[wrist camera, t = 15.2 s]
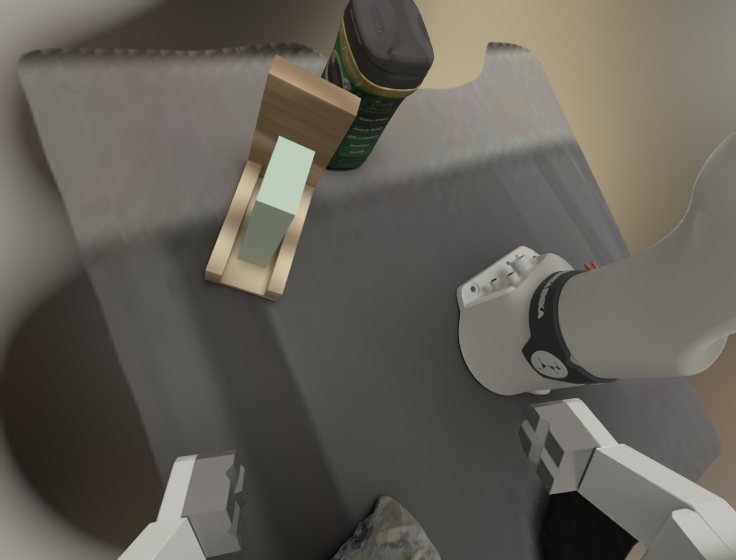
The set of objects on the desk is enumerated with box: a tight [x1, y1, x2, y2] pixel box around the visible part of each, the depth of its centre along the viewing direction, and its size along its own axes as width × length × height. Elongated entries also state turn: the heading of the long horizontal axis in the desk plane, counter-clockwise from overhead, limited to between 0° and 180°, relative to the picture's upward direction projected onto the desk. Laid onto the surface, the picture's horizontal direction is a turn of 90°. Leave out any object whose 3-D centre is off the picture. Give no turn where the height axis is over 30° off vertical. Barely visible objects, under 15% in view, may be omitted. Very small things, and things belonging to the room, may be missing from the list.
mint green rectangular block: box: [237, 136, 315, 268], centre depth 36 cm, size 6×3×14 cm, turn 167°
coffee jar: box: [321, 0, 434, 168], centre depth 42 cm, size 10×8×19 cm
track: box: [205, 55, 361, 301], centre depth 36 cm, size 15×8×16 cm, turn 167°
